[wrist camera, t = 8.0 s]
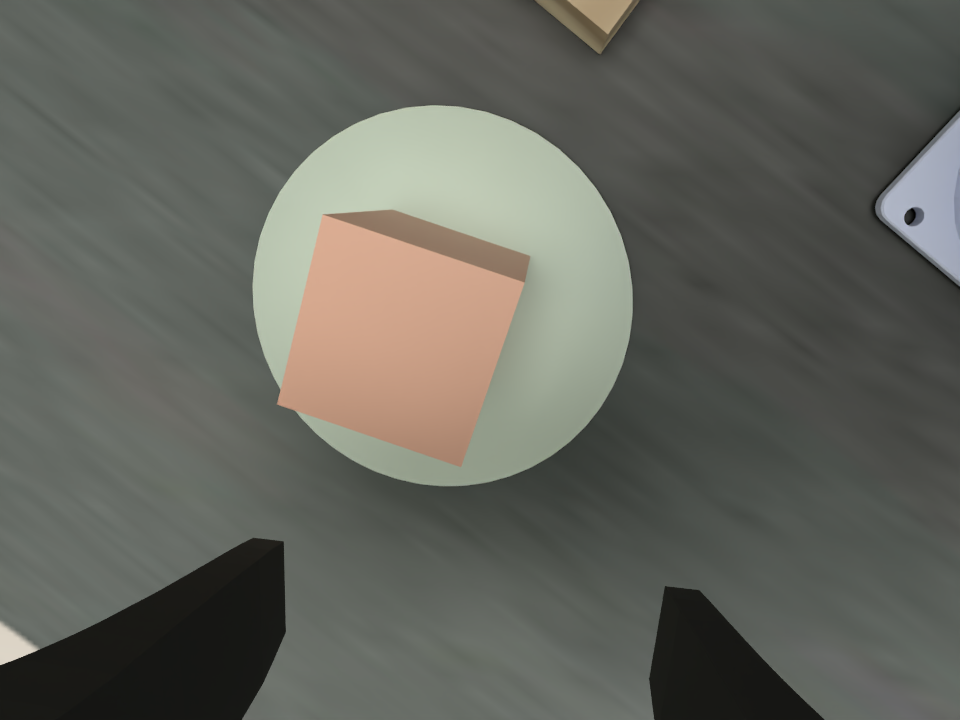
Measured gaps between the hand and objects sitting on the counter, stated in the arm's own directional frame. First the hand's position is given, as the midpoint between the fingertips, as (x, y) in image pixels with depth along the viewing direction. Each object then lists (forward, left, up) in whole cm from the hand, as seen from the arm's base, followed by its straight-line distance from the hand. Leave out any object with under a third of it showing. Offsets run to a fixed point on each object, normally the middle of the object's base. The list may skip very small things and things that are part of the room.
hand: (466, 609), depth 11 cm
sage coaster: (+4, -2, -9) cm, 10 cm away
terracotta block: (+4, -2, -9) cm, 10 cm away
